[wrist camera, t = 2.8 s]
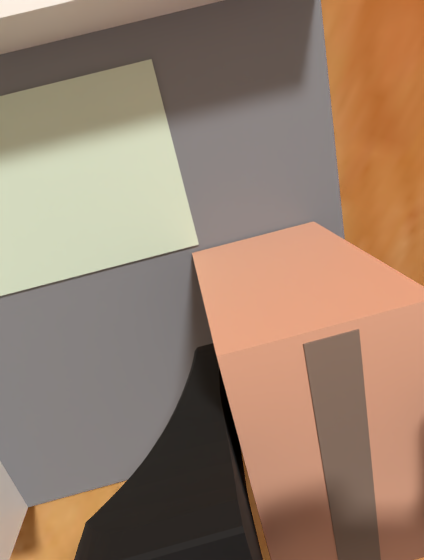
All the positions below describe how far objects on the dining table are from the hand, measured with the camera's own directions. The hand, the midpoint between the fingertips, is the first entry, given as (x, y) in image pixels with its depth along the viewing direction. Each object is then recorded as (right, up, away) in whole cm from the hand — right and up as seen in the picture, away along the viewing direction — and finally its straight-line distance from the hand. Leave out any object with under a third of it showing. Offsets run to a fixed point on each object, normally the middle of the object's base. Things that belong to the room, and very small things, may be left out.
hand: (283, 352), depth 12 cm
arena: (-5, +2, +1) cm, 6 cm away
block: (0, +1, +1) cm, 1 cm away
